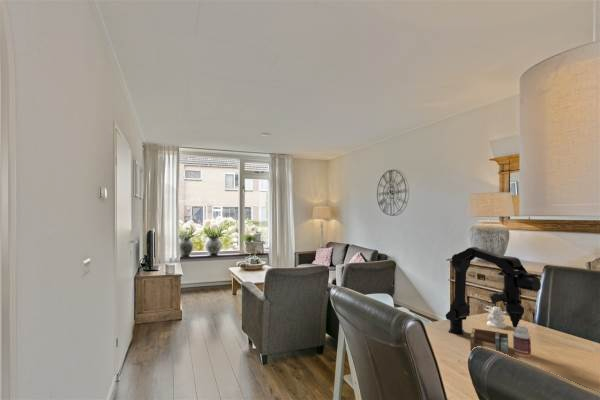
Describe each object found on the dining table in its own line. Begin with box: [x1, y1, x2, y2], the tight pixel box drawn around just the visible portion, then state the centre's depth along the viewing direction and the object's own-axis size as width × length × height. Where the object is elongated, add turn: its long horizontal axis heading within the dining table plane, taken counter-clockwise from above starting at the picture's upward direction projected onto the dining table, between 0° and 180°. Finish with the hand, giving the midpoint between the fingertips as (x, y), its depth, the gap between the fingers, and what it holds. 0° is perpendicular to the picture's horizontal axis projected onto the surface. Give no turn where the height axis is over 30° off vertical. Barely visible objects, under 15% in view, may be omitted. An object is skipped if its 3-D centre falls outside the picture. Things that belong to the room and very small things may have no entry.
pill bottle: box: [512, 325, 532, 358], centre depth 139 cm, size 6×6×11 cm
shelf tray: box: [469, 327, 509, 355], centre depth 146 cm, size 13×14×6 cm
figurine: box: [484, 305, 508, 329], centre depth 176 cm, size 12×9×10 cm
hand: (513, 324), depth 140 cm, fingers open, 9 cm apart
